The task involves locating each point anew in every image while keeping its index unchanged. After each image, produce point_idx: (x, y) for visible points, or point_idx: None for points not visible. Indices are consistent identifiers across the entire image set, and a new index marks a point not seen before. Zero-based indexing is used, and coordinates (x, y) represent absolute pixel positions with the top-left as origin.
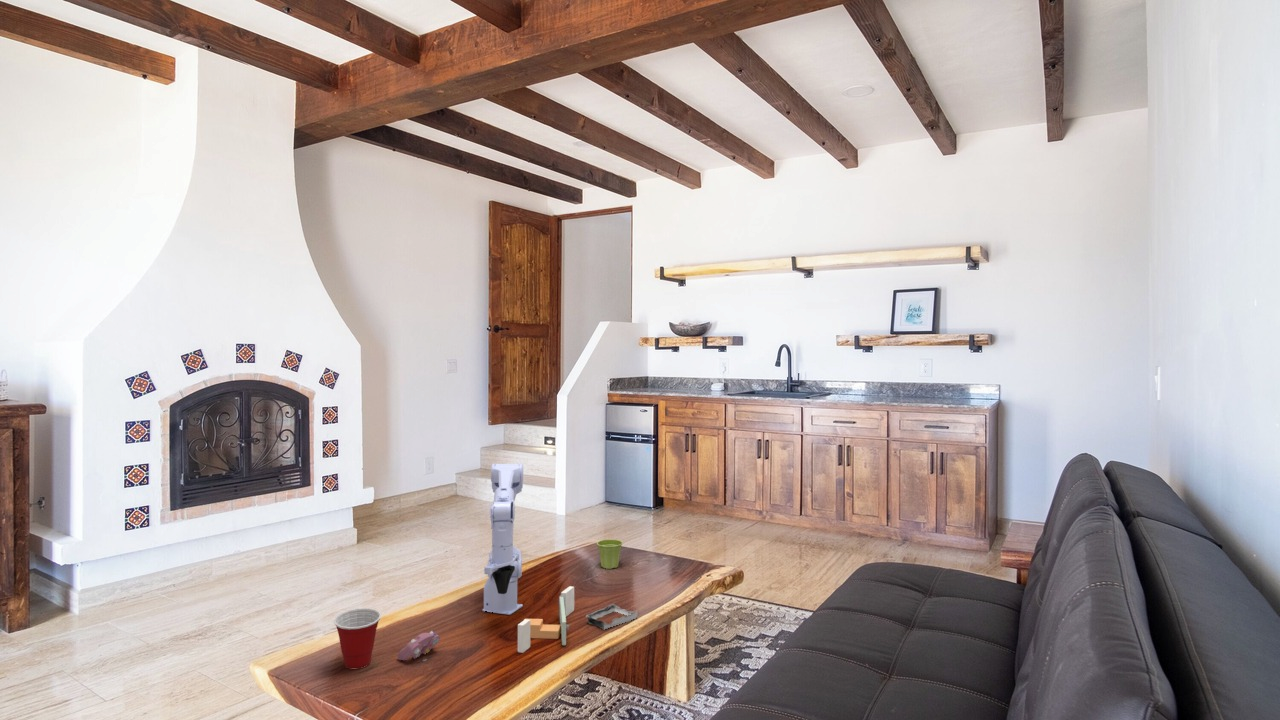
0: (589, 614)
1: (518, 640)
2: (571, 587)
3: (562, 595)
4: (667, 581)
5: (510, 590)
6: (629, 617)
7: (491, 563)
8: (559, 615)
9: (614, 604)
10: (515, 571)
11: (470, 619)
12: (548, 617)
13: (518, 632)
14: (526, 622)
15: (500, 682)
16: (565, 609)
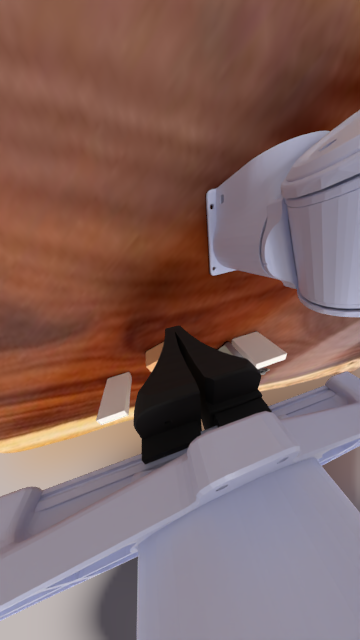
0: None
1: (103, 394)
2: (281, 358)
3: (252, 362)
4: (341, 350)
5: (252, 272)
6: None
7: (128, 516)
8: (226, 346)
9: (268, 369)
10: (312, 297)
11: (152, 202)
12: (224, 329)
13: (100, 407)
14: (115, 419)
15: (31, 419)
16: (238, 351)
